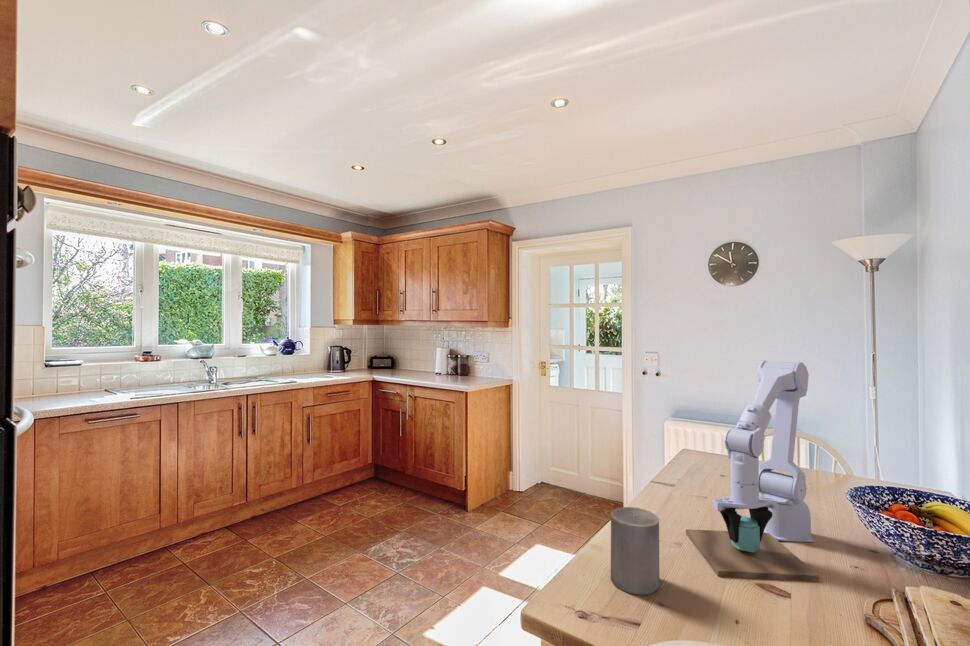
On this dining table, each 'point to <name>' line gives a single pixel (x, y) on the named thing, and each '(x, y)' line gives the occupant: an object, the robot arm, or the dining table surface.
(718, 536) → the brown flat square slab
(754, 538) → the cap
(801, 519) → the robot arm
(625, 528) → the pillar candle
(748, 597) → the dining table surface
